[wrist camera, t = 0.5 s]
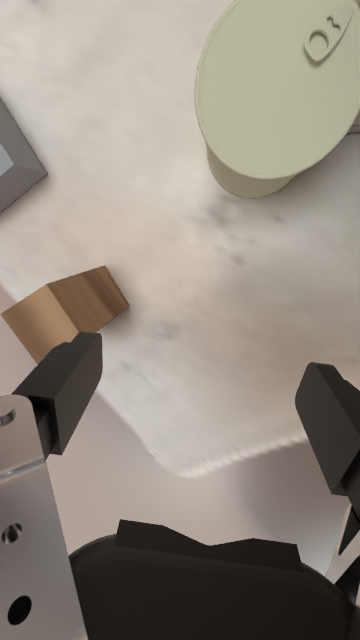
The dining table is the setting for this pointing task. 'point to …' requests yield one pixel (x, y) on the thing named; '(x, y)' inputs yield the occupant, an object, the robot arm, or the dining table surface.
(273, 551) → the robot arm
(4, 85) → the dining table surface
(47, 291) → the walnut brick
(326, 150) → the can
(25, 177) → the base block
